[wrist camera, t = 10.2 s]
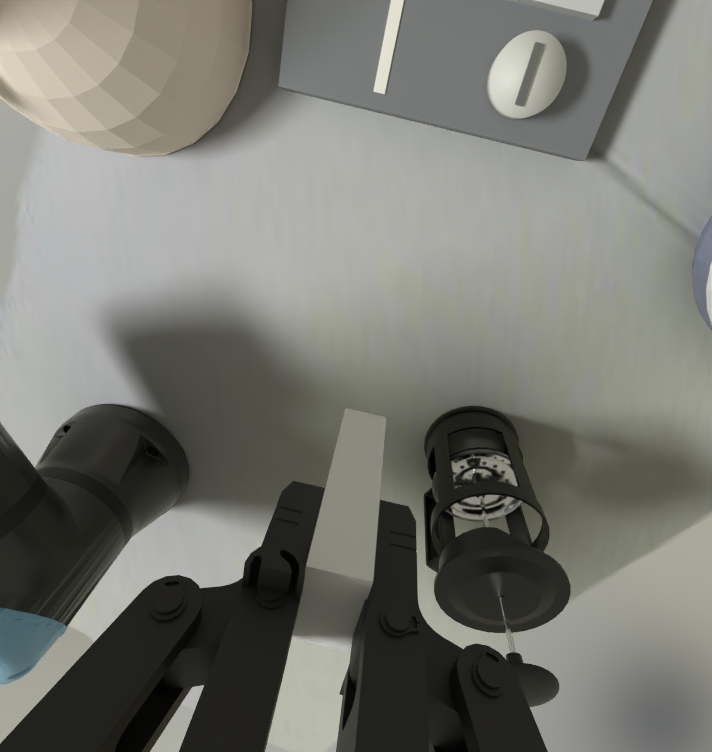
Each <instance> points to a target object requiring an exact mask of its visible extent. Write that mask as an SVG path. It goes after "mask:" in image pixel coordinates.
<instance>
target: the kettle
mask: <svg viewBox="0 0 712 752" xmlns="http://www.w3.org/2000/svg"><path fill="white" fill-rule="evenodd" d="M251 18H252V0H0V98H1V99H3V100H4V101H5V102H6V103H7V104H8V105H9V106H11V107H12V108H14V109H15V110H17V111H18V112H20V113H21V114H23V115H24V116H26V117H27V118H29V119H30V120H32V121H33V122H35V123H36V124H38V125H40V126H42V127H44V128H45V129H47V130H49V131H51V132H53V133H55V134H57V135H58V136H60V137H62V138H64V139H66V140H68V141H70V142H74V143H78V144H82V145H86V146H90V147H94V148H98V149H103V150H108V151H114V152H118V153H122V154H126V155H130V156H134V157H140V156H157V155H167V154H169V153H172V152H174V151H177V150H179V149H182V148H184V147H186V146H189V145H191V144H194V143H195V142H196V141H197V140H198V139H199V138H201V137H202V136H203V135H204V134H205V133H206V132H207V131H209V130H210V129H211V128H212V127H213V126H214V125H215V124H216V123H218V121H219V120H220V118H221V116H222V115H223V113H224V112H225V110H226V108H227V107H228V105H229V103H230V102H231V100H232V99H233V97H234V95H235V94H236V92H237V89H238V86H239V83H240V80H241V76H242V73H243V70H244V66H245V63H246V60H247V57H248V53H249V45H250V31H251Z"/></svg>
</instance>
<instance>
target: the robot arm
mask: <svg viewBox="0 0 712 752" xmlns="http://www.w3.org/2000/svg"><path fill="white" fill-rule="evenodd" d="M385 430H386V417H383V416H378V415H374V414H370V413H365V412H361V411H357V410H352V409H348V408H345V411H344V415H343V419H342V423H341V427H340V431H339V435H338V439H337V443H336V447H335V451H334V455H333V459H332V463H331V467H330V471H329V475H328V479H327V483H326V487H325V488H322V487H317V486H313V485H309V484H304V483H300V482H296V481H293V482H292V483H291V484H289V485H288V486H287V487H286V488H285V489H284V490H283V491H282V493H281V495H280V498H279V501H278V503H277V507H276V509H275V511H274V514H273V517H272V520H271V522H270V525H269V527H268V530H267V533H266V535H265V538H264V541H263V543H262V546H261V547H259V548H258V549H256V550H255V551H253V552H252V553H251V554H250V555H249V557H248V558H247V560H246V562H245V566H244V574H243V578H242V579H240V580H239V581H237V582H235V583H232V584H230V585H226V586H220V587H210V588H199V586H198V584H196V583H195V582H194V581H193V580H192V579H190V578H187V577H183V576H180V575H177V576H166V577H164V578H161V579H159V580H156V581H154V582H153V583H151V584H150V585H149V586H147V587H146V588H145V589H144V590H143V591H142V592H141V593H140V594H139V595H138V596H137V597H136V598H135V599H134V600H133V601H132V602H131V604H130V605H129V606H128V607H127V608H126V609H125V610H124V611H123V612H122V613H121V614H120V615H119V616H118V618H117V619H116V620H115V621H114V622H113V623H112V624H111V625H110V626H109V627H108V628H107V629H106V630H105V632H104V633H103V634H102V635H101V636H100V637H99V638H98V639H97V640H96V641H95V642H94V643H93V644H92V646H91V647H90V648H89V649H88V650H87V651H86V652H85V653H84V654H83V655H82V656H81V657H80V658H79V660H78V661H77V662H76V663H75V664H74V665H73V666H72V667H71V668H70V669H69V670H68V671H67V672H66V674H65V675H64V676H63V677H62V678H61V679H60V680H59V681H58V682H57V683H56V684H55V685H54V687H53V688H52V689H51V690H50V691H49V692H48V693H47V694H46V695H45V697H43V698H42V700H41V701H40V702H39V703H38V704H37V705H36V706H35V707H34V708H33V709H32V710H31V711H30V712H29V713H28V715H27V716H26V717H25V718H24V719H23V720H22V721H21V722H20V723H19V724H18V725H17V726H16V727H15V729H14V730H13V731H12V732H11V733H10V734H9V735H8V736H7V737H6V738H5V739H4V740H3V741H2V743H1V744H0V752H150V751H151V749H152V747H153V746H154V744H155V743H156V741H157V740H158V738H159V737H160V735H161V734H162V732H163V731H164V729H165V727H166V726H167V724H168V723H169V721H170V720H171V718H172V717H173V715H174V714H175V712H176V711H177V709H178V707H179V706H180V705H181V703H182V701H183V700H184V698H185V697H186V695H187V694H188V692H189V691H190V689H191V688H192V687H194V686H200V685H204V688H203V690H202V693H201V696H200V698H199V701H198V703H197V706H196V709H195V711H194V714H193V717H192V720H191V722H190V724H189V727H188V730H187V732H186V735H185V737H184V740H183V743H182V745H181V748H180V750H179V752H265V749H266V745H267V741H268V736H269V732H270V728H271V724H272V720H273V715H274V711H275V707H276V703H277V699H278V694H279V690H280V686H281V682H282V678H283V673H284V669H285V665H286V660H287V656H288V651H289V647H290V643H291V639H292V638H293V639H298V640H302V641H306V642H311V643H315V644H319V645H323V646H328V647H332V648H336V649H341V650H345V651H350V648H351V656H350V664H349V667H348V670H347V673H346V676H345V678H344V681H343V684H342V687H341V690H340V695H343V699H342V708H341V716H340V724H339V732H338V740H337V748H336V752H548V751H547V749H546V747H545V744H544V742H543V739H542V737H541V734H540V732H539V729H538V727H537V725H536V722H535V720H534V717H533V715H532V712H531V710H530V707H529V705H528V702H527V700H526V698H525V695H524V693H523V690H522V688H521V685H520V683H519V680H518V678H517V676H516V674H515V672H514V670H513V669H512V667H511V665H510V663H509V662H508V661H507V660H506V659H505V658H504V657H503V656H502V655H501V654H500V653H499V652H497V651H496V650H494V649H492V648H491V647H489V646H486V645H481V644H473V645H469V646H466V647H465V648H464V649H462V648H460V647H458V646H457V645H455V644H453V643H452V642H450V641H448V640H447V639H445V638H443V637H442V636H440V635H439V634H438V633H436V632H435V631H434V630H433V629H432V628H431V627H430V626H429V625H428V624H427V622H426V621H425V619H424V618H423V616H422V614H421V611H420V609H419V605H418V594H417V552H416V521H415V519H414V517H413V514H412V512H411V510H410V508H409V507H408V506H404V505H400V504H395V503H391V502H387V501H382V500H380V491H381V479H382V467H383V454H384V442H385ZM188 477H189V470H188V464H187V460H186V457H185V455H184V453H183V451H182V449H181V447H180V446H179V444H178V443H177V441H176V440H175V439H174V438H173V437H172V435H171V434H170V433H169V432H168V431H167V430H166V429H164V428H163V427H162V426H161V425H160V424H158V423H157V422H155V421H154V420H152V419H151V418H149V417H147V416H146V415H144V414H142V413H139V412H137V411H135V410H132V409H129V408H126V407H121V406H116V405H95V406H91V407H87V408H85V409H83V410H81V411H79V412H78V413H76V414H75V415H74V416H72V417H71V418H70V419H69V420H67V421H66V422H65V423H64V424H62V426H61V427H60V428H59V429H58V430H57V431H56V433H55V435H54V436H53V438H52V440H51V441H50V443H49V445H48V446H47V448H46V450H45V451H44V453H43V455H42V456H41V458H40V460H39V461H38V463H37V465H36V467H35V468H34V466H33V465H32V464H31V462H30V461H29V460H28V458H27V457H26V456H25V455H24V453H23V452H22V451H21V449H20V448H19V447H18V445H17V444H16V443H15V441H14V440H13V439H12V437H11V436H10V435H9V433H8V432H7V431H6V429H5V428H4V427H3V425H2V424H1V423H0V685H4V684H7V683H10V682H13V681H15V680H18V679H20V678H21V677H23V676H24V675H26V674H27V673H28V672H29V671H31V669H33V668H34V666H35V665H36V664H37V663H38V662H39V660H40V659H41V658H42V657H43V656H44V654H45V653H46V652H47V651H48V650H49V648H50V647H51V646H52V645H53V644H54V642H55V641H56V640H57V639H58V638H59V637H60V636H62V635H63V634H64V632H65V631H66V628H67V626H68V624H69V623H70V622H71V620H72V619H73V618H74V616H75V615H76V613H77V612H78V611H79V609H80V608H81V606H82V605H83V604H84V602H85V601H86V599H87V598H88V597H89V595H90V594H91V592H92V591H93V590H94V588H95V587H96V586H97V584H98V583H99V581H100V580H101V579H102V577H103V576H104V574H105V573H106V572H107V570H108V569H109V567H110V566H111V565H112V563H113V562H114V561H115V559H116V558H117V556H118V555H119V554H120V552H121V551H122V549H123V548H124V547H125V545H126V544H127V543H128V541H129V540H130V539H131V537H132V536H134V535H135V534H136V533H138V532H139V531H141V530H142V529H144V528H145V527H146V526H148V525H149V524H150V523H152V522H153V521H154V520H156V519H157V518H158V517H160V516H161V515H163V514H164V513H166V512H167V511H168V510H169V509H170V508H172V506H173V505H174V504H175V503H176V502H177V500H178V499H179V497H180V496H181V494H182V493H183V491H184V490H185V488H186V486H187V483H188ZM351 645H352V647H351Z"/></svg>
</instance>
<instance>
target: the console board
mask: <svg viewBox="0 0 712 752" xmlns="http://www.w3.org/2000/svg"><path fill="white" fill-rule="evenodd" d="M652 1H653V0H287V6H286V16H285V25H284V35H283V45H282V55H281V64H280V74H279V84H278V86H279V87H281V88H283V89H285V90H287V91H291V92H295V93H300V94H304V95H308V96H312V97H316V98H320V99H324V100H328V101H332V102H337V103H341V104H345V105H349V106H353V107H357V108H361V109H365V110H370V111H374V112H378V113H382V114H386V115H390V116H394V117H398V118H403V119H407V120H411V121H415V122H419V123H423V124H427V125H431V126H435V127H440V128H444V129H448V130H452V131H456V132H460V133H464V134H468V135H473V136H477V137H481V138H485V139H489V140H493V141H497V142H501V143H506V144H510V145H514V146H518V147H522V148H526V149H530V150H534V151H538V152H543V153H547V154H551V155H555V156H559V157H563V158H567V159H571V160H578V161H585V160H586V157H587V155H588V153H589V150H590V148H591V146H592V143H593V141H594V138H595V136H596V134H597V131H598V129H599V127H600V124H601V122H602V120H603V117H604V115H605V112H606V110H607V108H608V105H609V103H610V101H611V98H612V96H613V94H614V91H615V89H616V86H617V84H618V82H619V79H620V77H621V75H622V72H623V70H624V68H625V65H626V63H627V60H628V58H629V56H630V53H631V51H632V49H633V46H634V44H635V42H636V39H637V37H638V35H639V32H640V30H641V27H642V25H643V23H644V20H645V18H646V16H647V13H648V11H649V9H650V6H651V4H652Z"/></svg>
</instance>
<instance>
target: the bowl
mask: <svg viewBox="0 0 712 752" xmlns="http://www.w3.org/2000/svg"><path fill="white" fill-rule="evenodd" d="M692 269H693V286H694V298H695V301H696V304H697V307H698V310H699V313H700V314H701V316H702V317H703V319H704V320H705V322H706V323H707V325H708V326H709V327H710V328H711V330H712V216H711V218H710V219H709V221H708V223H707V224H706V226H705V228H704V229H703V231H702V233H701V236H700V238H699V241H698V244H697V246H696V249H695V254H694V260H693V266H692Z"/></svg>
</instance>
